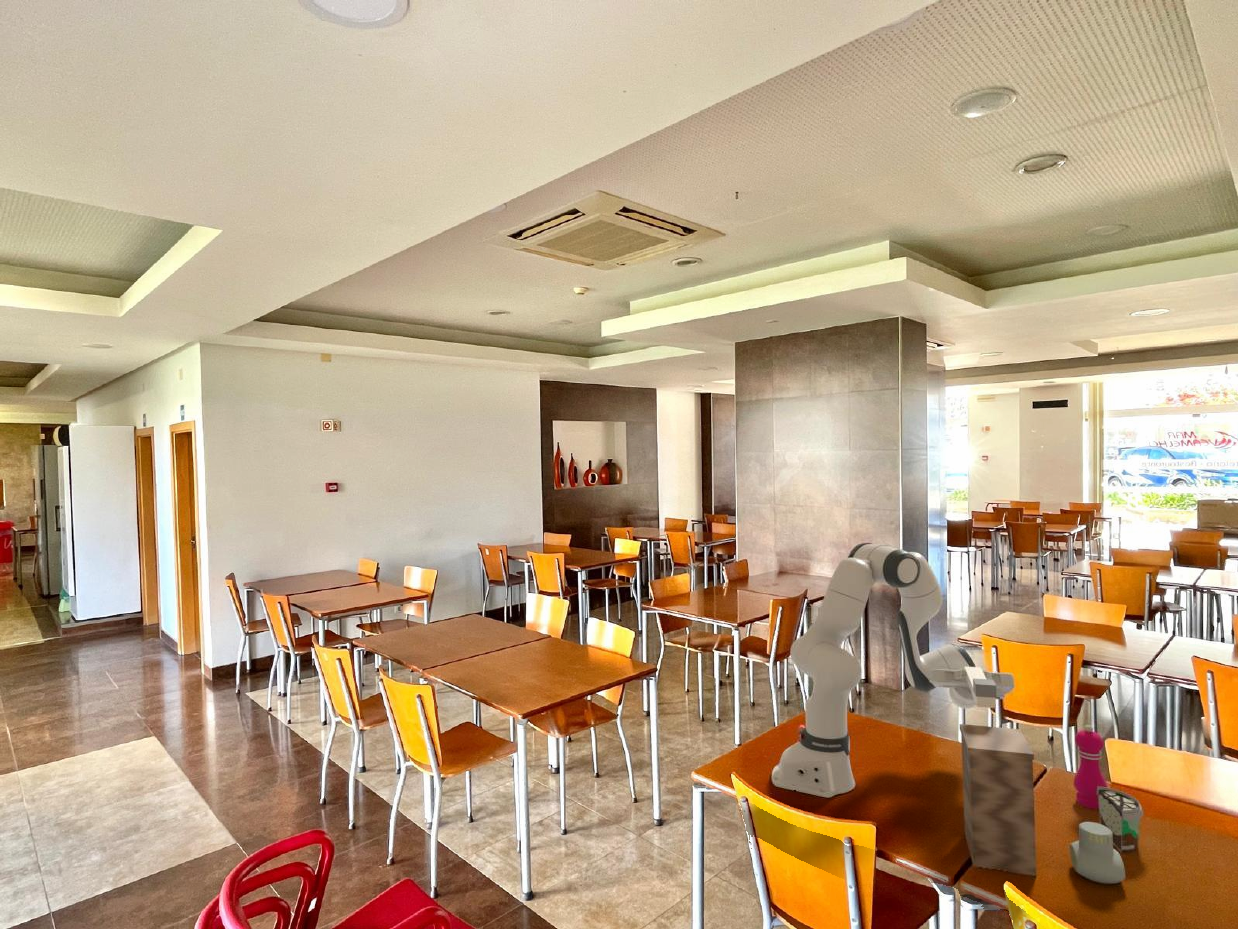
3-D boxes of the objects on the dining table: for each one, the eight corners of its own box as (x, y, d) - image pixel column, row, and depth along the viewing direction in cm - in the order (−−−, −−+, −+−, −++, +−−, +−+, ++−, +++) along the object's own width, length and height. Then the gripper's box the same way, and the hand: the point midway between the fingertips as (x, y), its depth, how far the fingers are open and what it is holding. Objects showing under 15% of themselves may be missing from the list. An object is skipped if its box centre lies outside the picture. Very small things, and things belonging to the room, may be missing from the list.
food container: (1156, 859, 149) (1155, 813, 149) (1125, 856, 151) (1123, 811, 151) (1126, 829, 161) (1125, 787, 161) (1097, 827, 163) (1096, 785, 163)
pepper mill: (1105, 799, 175) (1102, 722, 175) (1111, 813, 169) (1109, 732, 169) (1071, 794, 178) (1069, 718, 178) (1077, 807, 172) (1074, 728, 172)
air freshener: (1068, 857, 151) (1066, 812, 151) (1113, 865, 148) (1111, 819, 148) (1080, 886, 141) (1078, 838, 141) (1128, 895, 138) (1126, 845, 138)
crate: (972, 866, 149) (967, 747, 149) (963, 833, 162) (959, 724, 162) (1038, 876, 145) (1034, 754, 145) (1023, 841, 158) (1019, 729, 158)
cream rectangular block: (976, 706, 164) (975, 684, 164) (963, 675, 185) (963, 655, 184) (996, 708, 163) (996, 685, 162) (981, 676, 183) (981, 656, 183)
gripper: (927, 671, 197) (930, 658, 186) (1007, 676, 190) (1015, 663, 179) (929, 693, 194) (932, 682, 183) (1010, 699, 187) (1019, 688, 176)
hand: (974, 673), depth 181 cm, fingers closed on cream rectangular block, 4 cm apart
